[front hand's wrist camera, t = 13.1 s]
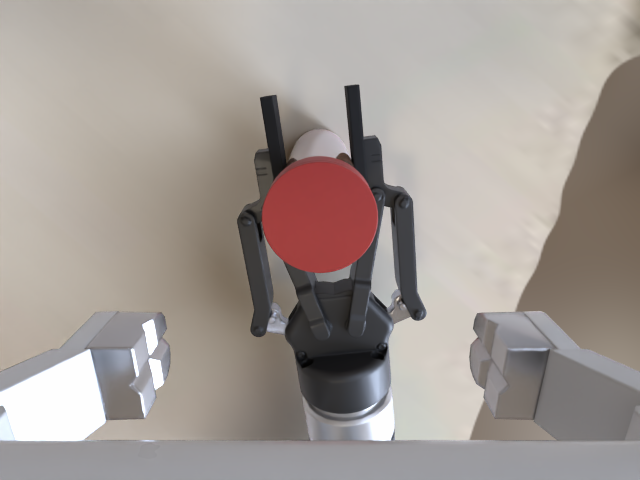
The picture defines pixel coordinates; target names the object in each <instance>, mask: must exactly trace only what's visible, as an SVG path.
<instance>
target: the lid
mask: <svg viewBox="0 0 640 480" xmlns="http://www.w3.org/2000/svg"><path fill="white" fill-rule="evenodd" d="M377 224H378V210H377V205H376V201H375V198H374V196H373V194H372V192H371V190H370V188H369V185H368V183H367V182H366V180H365V179H364V177H363V176H362V175H361V174H360V173H359V172H358V171H357V170H356V169H355V168H354V167H352V166H351V165H349V164H348V163H346V162H344V161H342V160H339V159H336V158H332V157H327V156H313V157H308V158H304V159H301V160H298V161H296V162H294V163H292V164H290V165H289V166H287V167H286V168H285V169H284V170H283V171H281V172H280V173H279V175H278V176H277V177H276V178H275V180H274V181H273V183H272V185H271V187H270V189H269V191H268V193H267V196H266V198H265V201H264V204H263V209H262V226H263V231H264V234H265V237H266V239H267V241H268V243H269V245H270V247H271V248H272V249H273V251H274V252H275V253H276V254H277V255H278V256H279V257H280V258H281V259H282V260H283V261H285V262H286V263H288V264H289V265H291V266H293V267H295V268H297V269H300V270H303V271H307V272H313V273H326V272H332V271H336V270H340V269H342V268H345V267H347V266H349V265H350V264H352V263H354V262H355V261H356V260H358V259H359V258H360V257H361V256H362V255H363V254H364V253H365V252H366V250H367V249H368V248H369V246H370V244H371V243H372V241H373V239H374V236H375V234H376V230H377Z"/></svg>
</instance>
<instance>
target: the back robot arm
mask: <svg viewBox="0 0 640 480" xmlns="http://www.w3.org/2000/svg"><path fill="white" fill-rule="evenodd" d="M344 87H345V97H346V108H347V119H348V129H349V140H350V150H351V160H352V163H353V165H354V168H355V169H356V170H357V171H358V172H359V173H360V174H361V175H362V176H363V177H364V179H365V180H366V182H367V183H368V185H369V188H370V190H371V192H372V194H373V196H374V198H375V201H376V205H377V210H378V224H377V230H376V234H375V236H374V239H373V241H372V243H371V244H370V246H369V248H368V249H367V250H366V252H365V253H364V254H363V255H362V256H361V257H360V258H359V259H358V260H356V261H355V262H354V263H352V266H351V270H350V277H349V279H343V280H340V281H337V282H334V283H332V282H324V281H322V282H318V281H317V279H316V276H315V274H314V273H313V272H307V271H303V270H300V269H297V268H295V267H293V266H291V265H289V264H288V263H286V262H285V261H284V264H285V266H286V268H287V270H288V273H289V275H290V277H291V280H292V282H293V284H294V286H295V289H296V294H297V297H298V299H299V301H298V303H297V304H296V306H295V308H294V309H293V311H292V313H291V314H290V316H289V318H285V317H284V316H283V315H282V313H281V308H280V306H279V305H278V304H277V303H275V302H273V286H272V280H271V275H270V269H269V263H268V257H267V252H266V246H265V240H264V234H263V229H262V223H261V222H262V209H263V204H264V201H265V198H266V196H267V193H268V191H269V189H270V187H271V185H272V183H273V181H274V180H275V178H276V177H277V176H278V175H279V173H280V172H281V171H283V170H284V169H285V167H286V165H287V163H286V156H285V150H284V143H283V136H282V130H281V123H280V116H279V110H278V103H277V96H276V95H272V96H265V97H261V98H260V101H261V107H262V113H263V119H264V125H265V131H266V138H267V144H268V149H260V150H258V151H257V152H256V154H255V159H254V163H255V169H256V175H257V180H258V186H259V192H260V199H259V200H258V201H256V202H254V203H252V204H247V205H246V206H245V207H244V209H243V210H242V212H241V213H240V215H239V217H238V219H237V223H238V228H239V233H240V239H241V244H242V249H243V254H244V259H245V264H246V269H247V274H248V279H249V285H250V290H251V295H252V300H253V305H254V314H253V319H252V324H251V333H252V334H253V335H254V336H256V337H261V336H263V335H265V333H266V331H267V332H272V333H277V334H282V335H285V338H286V340H287V342H288V343H289V344H290V345H291V346H292V348H293V350H294V353H295V359H296V364H297V370H298V376H299V382H300V388H301V392H302V395H303V397H302V401H303V406H304V412H305V417H306V422H307V428H308V433H309V439H310V440H395V437H394V435H395V431H394V425H395V423H394V411H393V399H392V388H391V385H390V384H391V373H390V360H389V347H388V339H389V336H390V334H391V332H392V330H393V327H394V324H395V323H397V322H399V321H402V320H404V319H406V318H409V317H412V319H414V320H417V321H419V320H422V319H424V318H425V316H426V309H425V307H424V305H423V303H422V301H421V299H420V297H419V294H418V292H417V276H416V256H415V236H414V216H413V201H412V198H411V197H410V196H409V194H408V193H407V192H406V191H405V190H404V188H402V187H399V186H397V187H394V186H390V185H387V184H385V183H384V179H383V165H382V151H381V144H380V142H379V140H378V138H377V137H376V136H375V135H374V136H366V137H363V126H362V114H361V102H360V89H359V85H349V86H344ZM384 206H387V207H390V210H391V225H392V239H393V253H394V268H395V278H396V283H397V286H398V288H399V289H396V290H395V291H394V293H393V294H392V304H391V306H390V307H388V308H387V307H386V306H385V305H384V304H383V303H382V302H381V301H380V300H379V299H378V298H377V297H376V296H375V295H374V294H373V293H372V292H371V278H372V272H373V266H374V260H375V255H376V249H377V243H378V237H379V232H380V226H381V220H382V214H383V209H384Z"/></svg>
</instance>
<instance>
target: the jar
mask: <svg viewBox="0 0 640 480" xmlns="http://www.w3.org/2000/svg"><path fill="white" fill-rule="evenodd" d="M313 156H327V157H332V158H336V159H339V160H342V161H344V162H346V163H348V164H349V165H351V166H352V167H354V165H353V163H352V160H351V158H350V155H349V153H348V151H347V148H346V146H345V144H344V142H343V140H342V139H341V138H340V137H339V136H338V135H337V134H335V133H334V132H332V131H329V130H325V129H314V130H311V131H308V132H306V133H305V134H303V135H302V136H301V137H300V138H299V139H298V140H297V142H296V143H295V145H294V147H293V150H292V152H291V155H290V157H289V160H288V162H287V165H286V167H287V166H289V165H290V164H292V163H294V162H296V161H298V160H301V159H304V158H308V157H313ZM286 167H285V168H286Z"/></svg>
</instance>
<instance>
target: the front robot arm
mask: <svg viewBox="0 0 640 480" xmlns="http://www.w3.org/2000/svg"><path fill="white" fill-rule="evenodd" d="M166 329H167V327H166V321H165V316H164V315H163V314H162V313H161V312H119V311H109V312H95V313H94V314H93V315H92V316H91V317H90V318H89V319H88V320H87V321H86V322H85V323H84V324H83V325H82V326H81V327H80V328H79V329H78V330H77V331H76V332H75V333H74V334H73V335H72V336H71V337H70V338H69V339H68V340H67V342H66V343H65V344H64V345H63V346H62V347H61V348H60V349H51V350H49V351H47V352H44V353H42V354H40V355H37V356H35V357H33V358H30V359H28V360H26V361H24V362H21V363H19V364H17V365H14V366H12V367H10V368H7V369H5V370H3V371H1V372H0V480H640V372H639V371H637V370H635V369H632V368H630V367H628V366H626V365H623V364H621V363H619V362H616V361H614V360H612V359H610V358H607V357H605V356H603V355H600V354H598V353H596V352H593V351H591V350H589V349H580V348H579V346H578V345H576V343H575V342H574V341H572V339H571V338H570V337H569V336H568V335H567V334H566V333H565V332H564V331H563V330H562V329H561V328H560V327H559V326H558V325H557V324H556V323H555V322H554V321H553V320H552V319H551V318H550V317H549V316H548V315H547V314H546V313H544V312H541V311H533V312H491V313H477V315H476V317H475V320H474V326H473V329H474V331H475V333H476V334H477V336H478V338H477V339H476V340H475V341H474V342H473V343H472V344H471V347H470V356H469V358H470V369H471V372H472V375H473V378H474V380H475V382H476V384H477V385H479V386H480V387H482V388H483V389H485V391H484V399H485V401H486V403H487V405H488V407H489V409H490V411H491V412H492V414H493V416H494V418H495V419H517V420H534V422H535V423H536V424H537V425H539V426H540V427H541V428H542V429H544V430H545V431H546V432H548V433H549V434H550V435H551V436H553V437H554V438H555V439H556V440H84V439H85V438H86V437H88V436H89V435H90V434H91V433H93V432H94V431H95V430H96V429H98V428H99V427H100V426H102V425H103V424H104V423H105V422H106V420H122V419H145V418H146V416H147V414H148V413H149V411H150V409H151V407H152V405H153V403H154V401H155V399H156V391H155V389H157V388H158V387H160V386H161V385H163V384H164V382H165V380H166V378H167V376H168V372H169V367H170V347H169V344H168V343H167V342H166V341H165V340H164V339H163V338H162V336H163V334H164V333H165V331H166Z"/></svg>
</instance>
